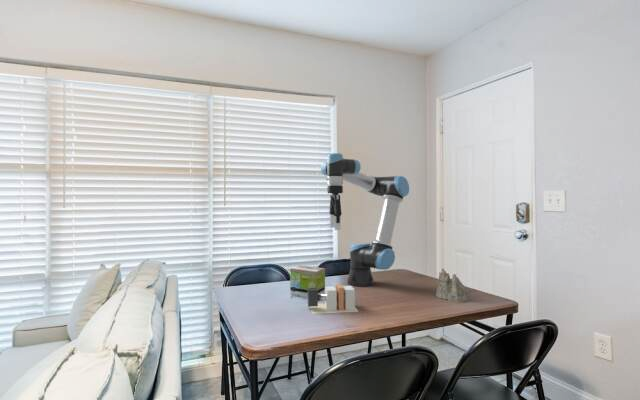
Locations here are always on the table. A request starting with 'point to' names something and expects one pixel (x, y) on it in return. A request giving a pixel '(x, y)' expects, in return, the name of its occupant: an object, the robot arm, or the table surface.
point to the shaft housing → (331, 302)
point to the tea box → (306, 280)
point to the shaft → (316, 297)
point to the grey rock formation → (450, 288)
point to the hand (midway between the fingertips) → (335, 228)
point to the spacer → (340, 296)
